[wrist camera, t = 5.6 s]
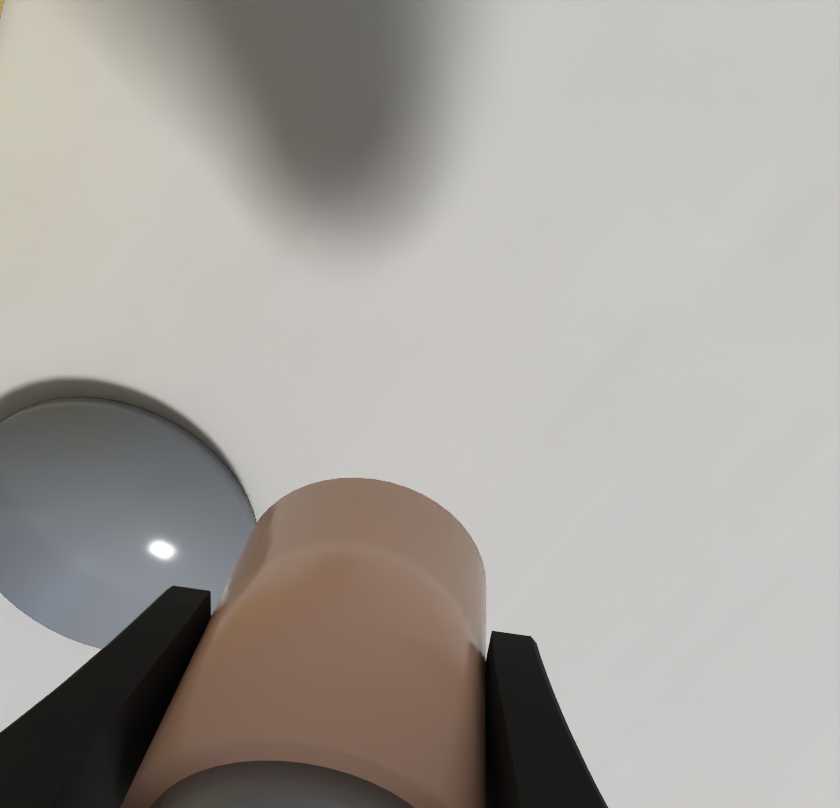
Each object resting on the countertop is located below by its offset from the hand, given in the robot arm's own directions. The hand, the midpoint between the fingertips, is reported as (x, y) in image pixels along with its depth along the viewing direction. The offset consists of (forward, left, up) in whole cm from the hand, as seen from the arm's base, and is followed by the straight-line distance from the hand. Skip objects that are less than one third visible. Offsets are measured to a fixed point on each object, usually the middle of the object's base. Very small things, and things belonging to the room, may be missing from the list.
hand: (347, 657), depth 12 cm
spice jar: (0, 0, -2) cm, 2 cm away
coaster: (-5, +8, -9) cm, 14 cm away
